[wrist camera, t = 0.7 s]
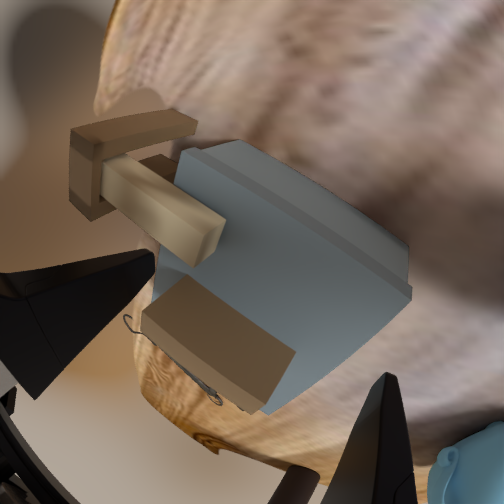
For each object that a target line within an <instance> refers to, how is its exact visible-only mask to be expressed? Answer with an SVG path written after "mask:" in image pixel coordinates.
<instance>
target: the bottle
mask: <svg viewBox="0 0 504 504" xmlns="http://www.w3.org/2000/svg"><path fill="white" fill-rule="evenodd" d="M319 480H320V475H319V474H318V473H316V472H315V471H313V470H310V469H308V468H304V467H300V466H291V467H289V468H288V470H287V472H286V474H285V475H284V477H283V479H282V480H281V482H280V484H279V486H278V487H277V489H276V491H275V492H274V494H273V496H272V497H271V499H270V500H269V502H268V504H307V503H308V502H309V500H310V498H311V496H312V494H313V492H314V490H315V488H316V486H317V484H318V482H319Z"/></svg>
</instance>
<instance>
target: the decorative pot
mask: <svg viewBox="0 0 504 504" xmlns="http://www.w3.org/2000/svg"><path fill="white" fill-rule="evenodd" d="M427 498H428V504H504V422H503V421H496V422H493V423H491V424H489V425H488V426H487V427H486V429H484V430H482V431H480V432H477V433H475V434H473V435H471V436H469V437H467V438H465V439H463V440H461V441H459V442H458V443H456V444H454V445H453V446H451V447H446V448H443V449H442V450H441V451H440V452H439V454H438V456H437V461H436V462H435V463H434V464H433V466H432V468H431V469H430V471H429V476H428V486H427Z"/></svg>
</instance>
